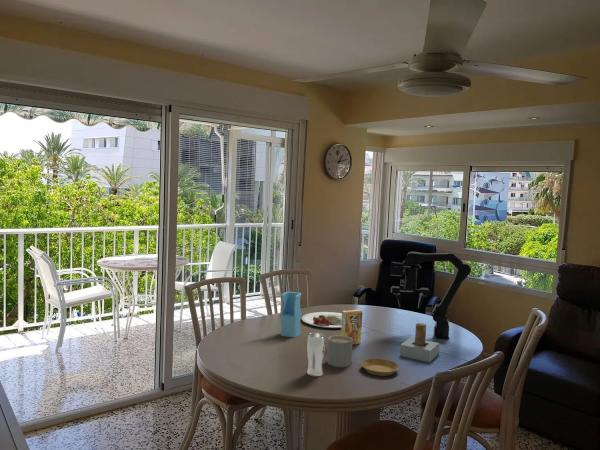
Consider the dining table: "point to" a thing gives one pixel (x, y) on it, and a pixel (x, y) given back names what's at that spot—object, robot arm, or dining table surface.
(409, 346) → the socket block
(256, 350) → the dining table surface
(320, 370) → the beer glass
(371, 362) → the plant saucer
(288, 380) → the dining table surface
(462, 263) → the robot arm
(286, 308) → the vase
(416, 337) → the walnut peg
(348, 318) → the candy box
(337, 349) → the coffee mug
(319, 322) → the plated food
